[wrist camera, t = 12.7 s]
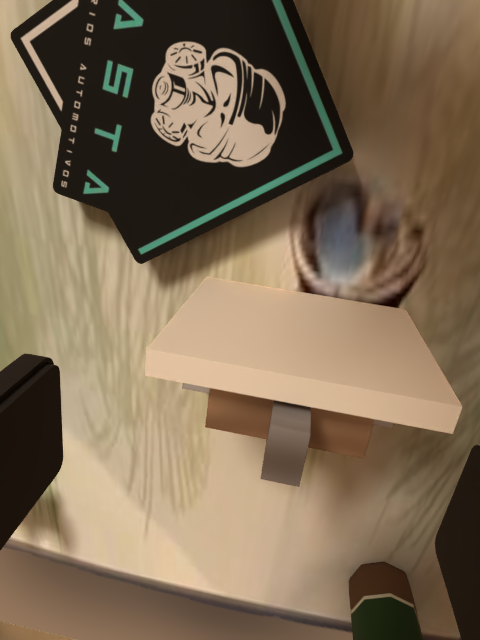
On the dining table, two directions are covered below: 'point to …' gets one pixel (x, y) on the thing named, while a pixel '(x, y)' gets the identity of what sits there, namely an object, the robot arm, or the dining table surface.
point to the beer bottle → (382, 604)
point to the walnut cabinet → (287, 430)
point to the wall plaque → (181, 110)
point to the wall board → (305, 354)
